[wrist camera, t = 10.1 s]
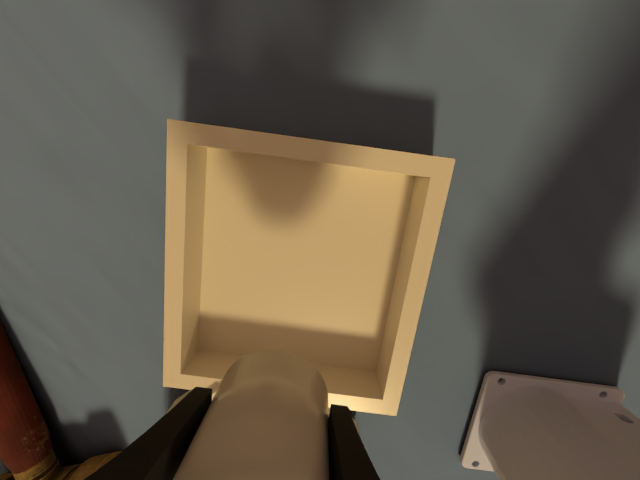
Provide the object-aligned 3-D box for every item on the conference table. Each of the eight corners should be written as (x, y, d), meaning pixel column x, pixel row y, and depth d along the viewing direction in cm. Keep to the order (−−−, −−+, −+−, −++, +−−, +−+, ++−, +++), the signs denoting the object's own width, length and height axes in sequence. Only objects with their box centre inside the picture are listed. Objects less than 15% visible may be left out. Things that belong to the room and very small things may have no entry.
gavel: (-191, 285, 17) (-35, 244, 16) (-80, 265, 21) (45, 232, 21) (-34, 577, 20) (102, 553, 19) (33, 505, 24) (145, 484, 24)
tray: (432, 161, 17) (455, 159, 14) (385, 380, 21) (396, 416, 18) (195, 128, 17) (167, 118, 14) (186, 354, 21) (162, 386, 18)
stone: (335, 357, 12) (342, 471, 7) (320, 448, 13) (318, 598, 8) (222, 342, 11) (159, 449, 7) (216, 435, 12) (157, 579, 8)
